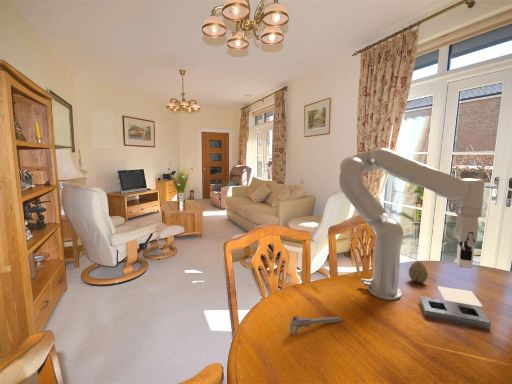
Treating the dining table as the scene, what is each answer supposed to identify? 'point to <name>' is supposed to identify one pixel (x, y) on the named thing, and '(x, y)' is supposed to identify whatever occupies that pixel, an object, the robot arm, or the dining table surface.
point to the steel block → (463, 262)
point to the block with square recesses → (454, 312)
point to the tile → (459, 296)
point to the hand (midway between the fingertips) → (464, 257)
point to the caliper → (309, 322)
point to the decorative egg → (418, 272)
